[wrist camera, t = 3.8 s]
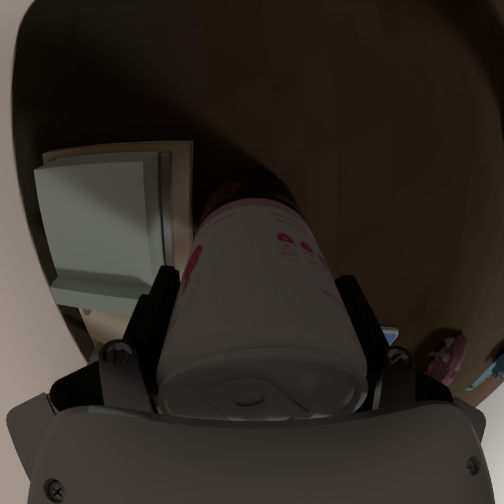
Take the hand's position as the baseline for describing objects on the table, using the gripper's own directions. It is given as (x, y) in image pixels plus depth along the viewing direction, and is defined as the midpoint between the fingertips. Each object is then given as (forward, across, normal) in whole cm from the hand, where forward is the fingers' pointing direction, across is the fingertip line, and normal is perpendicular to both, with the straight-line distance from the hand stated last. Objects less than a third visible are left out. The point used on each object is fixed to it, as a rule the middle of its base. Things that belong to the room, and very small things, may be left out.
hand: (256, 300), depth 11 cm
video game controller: (+10, -31, +20) cm, 38 cm away
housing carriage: (+8, +11, +1) cm, 13 cm away
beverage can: (+10, 0, 0) cm, 10 cm away
